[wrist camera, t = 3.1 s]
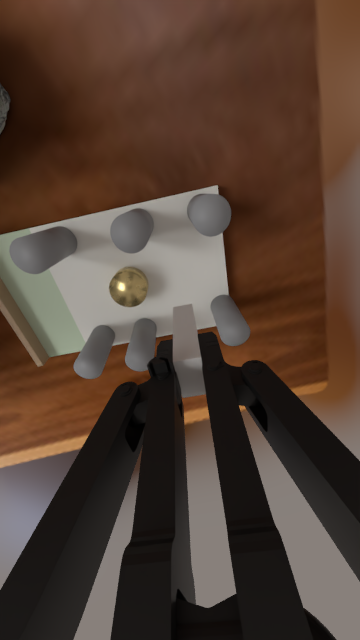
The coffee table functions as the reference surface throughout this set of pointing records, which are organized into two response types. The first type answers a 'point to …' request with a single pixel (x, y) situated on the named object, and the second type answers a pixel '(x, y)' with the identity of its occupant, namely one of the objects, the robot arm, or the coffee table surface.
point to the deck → (100, 267)
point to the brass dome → (129, 287)
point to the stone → (3, 106)
